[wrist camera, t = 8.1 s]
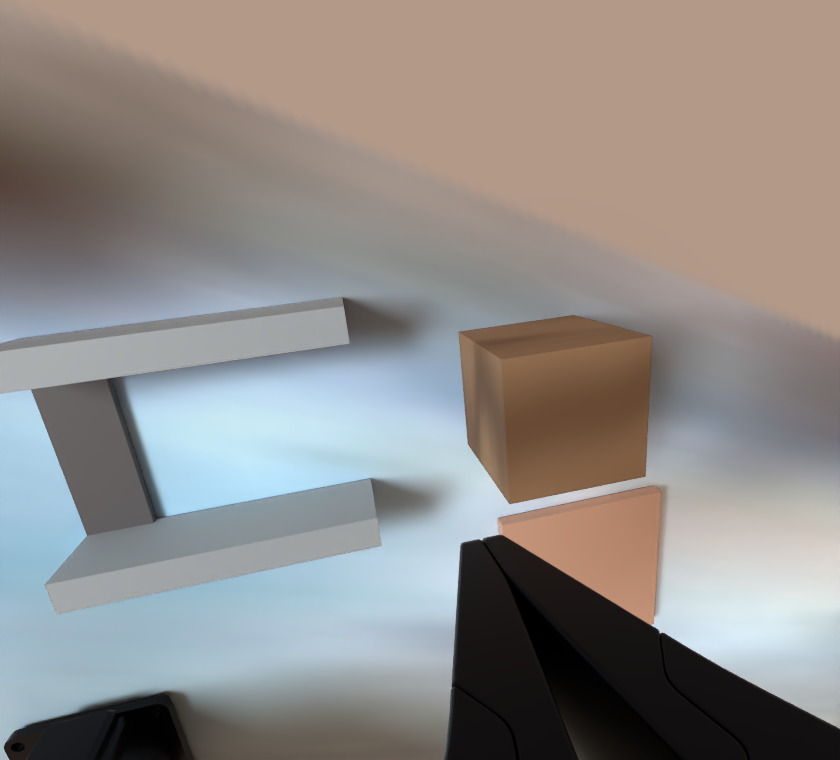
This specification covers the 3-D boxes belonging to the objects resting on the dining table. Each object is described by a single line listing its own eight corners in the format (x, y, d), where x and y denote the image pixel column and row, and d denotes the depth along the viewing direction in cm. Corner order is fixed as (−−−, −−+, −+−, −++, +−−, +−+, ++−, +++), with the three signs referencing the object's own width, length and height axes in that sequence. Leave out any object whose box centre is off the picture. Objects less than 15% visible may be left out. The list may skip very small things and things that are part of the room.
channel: (374, 502, 19) (381, 545, 17) (101, 556, 18) (57, 614, 15) (342, 297, 17) (343, 306, 14) (18, 338, 15) (-54, 358, 12)
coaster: (646, 615, 24) (653, 624, 24) (506, 651, 23) (511, 661, 23) (652, 485, 22) (661, 491, 21) (497, 518, 21) (502, 525, 20)
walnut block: (573, 424, 20) (645, 476, 16) (467, 443, 20) (509, 504, 15) (572, 315, 19) (652, 336, 14) (457, 331, 18) (501, 359, 13)
